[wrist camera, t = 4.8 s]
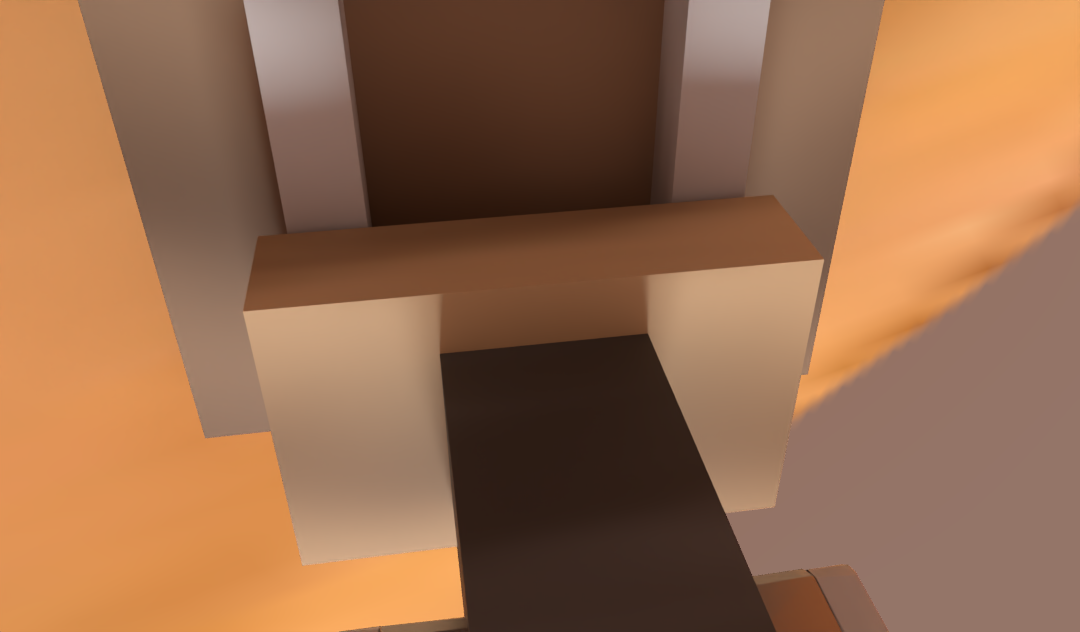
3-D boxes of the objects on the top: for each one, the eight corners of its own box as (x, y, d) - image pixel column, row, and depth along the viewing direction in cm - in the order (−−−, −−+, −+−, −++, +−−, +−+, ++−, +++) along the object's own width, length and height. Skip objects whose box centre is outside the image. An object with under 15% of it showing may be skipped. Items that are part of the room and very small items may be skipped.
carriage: (258, 236, 14) (128, 883, 6) (772, 194, 14) (1184, 714, 7) (308, 478, 16) (261, 1117, 9) (736, 430, 17) (1004, 972, 10)
